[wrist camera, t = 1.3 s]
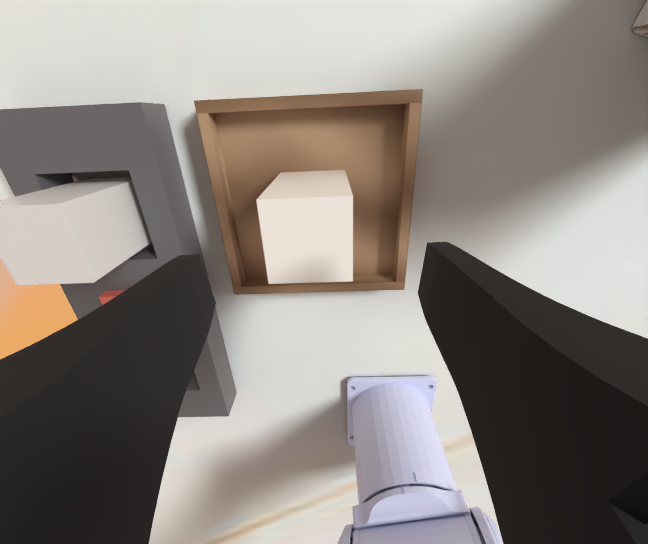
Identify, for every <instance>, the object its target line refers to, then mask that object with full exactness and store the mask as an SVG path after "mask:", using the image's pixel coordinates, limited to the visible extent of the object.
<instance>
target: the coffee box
mask: <svg viewBox="0 0 648 544" xmlns="http://www.w3.org/2000/svg"><path fill="white" fill-rule="evenodd" d="M632 31H633V32H634V33H636V34H639V35H641V36H644V37H648V0H647V1H646V3H645V4H644V6H643V8H642V10H641V12H640V13H639V15H638V17H637V19H636V20H635V22H634V24H633V26H632Z"/></svg>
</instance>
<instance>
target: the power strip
mask: <svg viewBox="0 0 648 544" xmlns="http://www.w3.org/2000/svg"><path fill="white" fill-rule="evenodd" d="M0 168H1V169H2V171H3V173H4V175H5V177H6V179H7V181H8V183H9V185H10V187H11V189H12V191H13V193H14V195H15V197H16V196H20V195H24V194H28V193H32V192H36V191H40V190H44V189H48V188H52V187H56V186H60V185H64V184H68V183H72V182H74V180H73V178H72V176H71V173H76V172H99V171H123V170H129V173H130V176H131V179H132V182H133V185H134V188H135V191H136V194H137V197H138V200H139V203H140V206H141V210H142V213H143V216H144V219H145V222H146V225H147V228H148V231H149V234H150V237H151V240H152V243H153V245H147V246H146V247H144V248H143V249H141V250H140V251H139V252H137V253H136V254H134V255H133V256H131V257H130V258H129V259H127V260H126V261H124V262H123V263H121V264H120V265H119V266H117V267H116V268H114V269H113V270H111V271H110V272H108V273H107V274H106V275H104V276H103V277H101V278H100V279H98V280H97V281H96V282H94V283H72V284H60V285H61V287H62V289H63V291H64V293H65V295H66V297H67V298H68V301H69V302H70V304H71V306H72V308H73V310H74V312H75V314H76V316H77V318H78V320H79V319H80V318H82V317H84V316H86V315H87V314H89V313H90V312H92V311H94V310H95V309H97V308H98V307H100V306H102V305H103V304H105V303H106V302H108V301H110V300H111V299H113V298H114V297H116V296H118V295H119V294H121V293H122V292H124V291H125V290H127V289H128V288H130V287H131V286H133V285H134V284H136V283H137V282H139V281H140V280H142V279H143V278H145V277H146V276H148V275H149V274H151V273H152V272H153V271H155V270H156V269H158V268H159V267H161V266H162V265H164V264H166V263H167V262H169V261H170V260H172V259H174V258H176V257H177V256H179V255H192V254H199V255H200V258H201V261H202V264H203V267H204V270H205V273H206V269H205V265H204V261H203V257H202V253H201V249H200V245H199V241H198V237H197V233H196V229H195V225H194V221H193V217H192V213H191V209H190V205H189V201H188V197H187V193H186V189H185V185H184V181H183V177H182V173H181V169H180V165H179V161H178V157H177V153H176V149H175V145H174V141H173V137H172V133H171V129H170V125H169V121H168V117H167V113H166V109H165V105H164V104H152V103H141V102H140V103H121V104H101V105H81V106H61V107H41V108H21V109H2V110H0ZM206 276H207V273H206ZM207 279H208V277H207ZM208 282H209V281H208ZM235 396H236V389H235V385H234V381H233V377H232V373H231V369H230V365H229V361H228V357H227V353H226V349H225V345H224V341H223V337H222V333H221V329H220V325H219V321H218V317H217V313H216V309H214V313H213V318H212V322H211V326H210V330H209V333H208V336H207V338H206V341H205V344H204V346H203V349H202V352H201V354H200V357H199V359H198V362H197V364H196V367H195V370H194V372H193V375H192V377H191V380H190V382H189V385H188V387H187V390H186V393H185V395H184V398H183V401H182V404H181V407H180V410H179V414H178V417H209V416H229V414H230V411H231V408H232V405H233V402H234V399H235Z"/></svg>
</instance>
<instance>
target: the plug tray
mask: <svg viewBox="0 0 648 544" xmlns="http://www.w3.org/2000/svg"><path fill="white" fill-rule="evenodd" d="M422 92H423V89H418V90H398V91H379V92H359V93H339V94H319V95H299V96H279V97H260V98H240V99H220V100H200V101H194V103H195V107H196V112H197V117H198V122H199V127H200V131H201V136H202V141H203V146H204V151H205V155H206V160H207V165H208V170H209V174H210V179H211V184H212V189H213V194H214V198H215V203H216V208H217V213H218V217H219V222H220V227H221V232H222V237H223V241H224V246H225V251H226V256H227V260H228V265H229V270H230V275H231V280H232V284H233V289H234V294H265V293H300V292H335V291H370V290H404V286H405V275H406V265H407V254H408V243H409V232H410V221H411V211H412V200H413V189H414V178H415V168H416V157H417V146H418V135H419V124H420V114H421V103H422ZM330 170H345V172H346V175H347V178H348V181H349V184H350V188H351V191H352V194H353V281H349V282H315V283H282V284H268V277H267V270H266V263H265V256H264V250H263V243H262V236H261V229H260V222H259V215H258V208H257V202H256V199H257V198H258V197H259V196H260V195H261V194H262V193H263V192H264V191H265V189H266V188H267V187H268V186H269V185H270V184H271V183H272V182H273V180H274V179H275V178H276V177H277V176H278V175H279V174H280V173H282V172H306V171H330Z"/></svg>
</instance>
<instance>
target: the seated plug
mask: <svg viewBox="0 0 648 544" xmlns="http://www.w3.org/2000/svg"><path fill="white" fill-rule="evenodd" d="M151 242H152V240H151V237H150V234H149V231H148V228H147V225H146V222H145V219H144V216H143V213H142V210H141V206H140V203H139V200H138V197H137V194H136V191H135V188H134V185H133V182H132V179H131V177H127V178H103V179H84V180H80V181H76V182H72V183H68V184H64V185H60V186H56V187H52V188H48V189H44V190H40V191H36V192H32V193H28V194H24V195H20V196H16V197H12V198H8V199H4V200H0V257H1V259H2V260H3V262H4V264H5V265H6V267H7V269H8V271H9V272H10V274H11V276H12V277H13V279H14V281H15V282H16V284H17V285H40V284H72V283H94V282H96V281H97V280H98V279H100V278H101V277H103V276H104V275H106V274H107V273H108V272H110V271H111V270H113V269H114V268H116V267H117V266H119V265H120V264H121V263H123V262H124V261H126V260H127V259H129V258H130V257H131V256H133V255H134V254H136V253H137V252H139V251H140V250H141V249H143V248H144V247H146V246H147V245H149V244H150V243H151Z"/></svg>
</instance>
